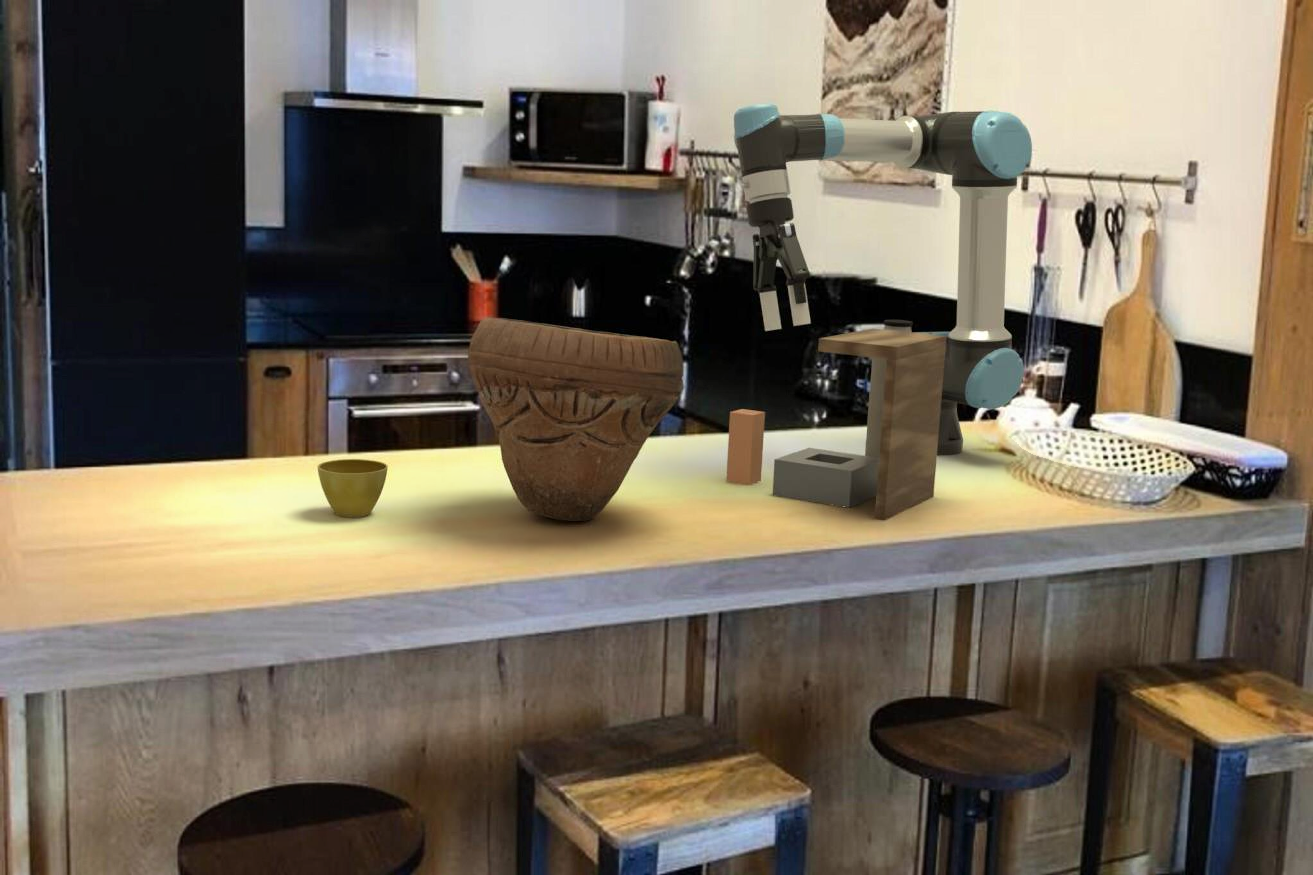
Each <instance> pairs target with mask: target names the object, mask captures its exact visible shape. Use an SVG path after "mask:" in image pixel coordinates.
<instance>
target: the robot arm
mask: <svg viewBox="0 0 1313 875" xmlns="http://www.w3.org/2000/svg"><path fill="white" fill-rule="evenodd" d="M733 127H734V133H733V134H734V135H733V137H734V146H735V148H736V150H737V154H738V162H739V167H740V168H739V169H740V174H741V180H742V182H741V183H740V188H741V189H743V192H744V199H745V201H746V202H749V203H748V204H747V205H746V207H745V208H746V214H747V221H748V225H749V226H750V227H751V228H759V233H754V234H752V242H753V243H752V244H753V245H752V247H753V267H752V268H753V271H752V272H753V281H752V284H753V285H752V286H753V290H754V291H757V293H758V294H759V298H760V305H761V306H760V307H761V311H762V312H761V314H762V318H763V320H762V321H763V325H764V331H765V332H768V331H775V330H782V324H781V315H780V310H779V303H778V296H777V291H778V289H777V287H776V285H775V277H776V270H777V263H778V262H777V261H779V263H780V264H779V265H780V266H781V267H782V270H783V272H784V275H785V277H786V282H785V286H787V289H788V290H787V291H788V297H789V304H790V310H791V318H792V324H793V327H796V326H803V325H810V324H811V323H812V322H811V321H812V320H811V316H810V309H809V302H808V294H807V288H806V282H807V279H808V278H810V276H811V274H810V271H809V268H808V265H807V262H806V260H805V256H804V253H803V250H802V248H801V245H800V242H799V238H798V236H797V231H796V225H795V223H794V222H791V221H792V220H794V218H795V215H794V210H793V202H792V199H791V198H790V197H789V195H790V194H791V187H790V179H789V172H788V169H787V163H789V162H805V161H806V162H808V161H833V162H834V161H835V162H840V161H841V162H862V163H863V162H864V163H865V162H869V163H893V164H894V165H895V166H896V167H898V168H900V169H914V170H918V171H919V170H921V171H925V172H932V173H937V174H941V175H947V176H948V175H949V176H951V188H952V190H954V191H955V192H956V193H957V195H958V196H959V220H958V221H959V223H958V228H959V229H958V262H957V263H958V264H957V294H956V295H957V296H956V297H957V300H956V301H957V302H956V325H955V327H954V328H953V329H952V330H951V331H927V332H926V331H922V332H921V331H920V332H918V331H917V332H912V333H922V334H932V335H942V336H947V337H946V349H945V362H944V374H943V386H942V398H941V410H940V423H939V435H938V447H937V455H953V454H954V455H955V454H958V453H961V452H962V451H963V446H964V445H963V444H964V437H963V433H962V430H961V426H960V420H959V417H958V410H957V408H958V404H962V405H963V404H964V405H967V406H969V407H972V408H976V409H987V410H995V409H999V408H1002V407H1004V406H1005V405H1007V404H1009V403H1010V402H1011V401H1012V399H1013V397H1014V396H1016V395H1017V393H1018V392H1019V390H1020V388H1021V386H1022V383H1023V379H1024V375H1025V374H1024V373H1025V366H1024V362H1023V359H1022V358H1021V357H1020V354H1019V353H1018V352H1016V351H1015V350H1014V349H1012V345H1013V344H1012V339H1013V338H1012V334H1011V332H1009V331H1008V330H1007V329H1006V328H1005V326H1004V325H1005V298H1006V296H1005V295H1006V270H1007V269H1006V267H1007V265H1006V263H1007V238H1008V237H1007V236H1008V211H1009V207H1008V206H1009V204H1008V203H1009V196H1010V195H1011V193H1012V192H1014V190H1015V189H1017V188H1018V177H1019V176H1020V175H1022V174H1023V173H1024V172H1025V170H1026V169H1027V166H1029V164H1030V162H1031V159H1032V153H1033V142H1032V138H1031V137H1032V136H1031V135H1030V133H1029V129H1028V128H1027V126H1026V125H1025V124H1024V123H1023V122H1022V120H1021V118H1019V117H1018V116H1016V115H1015V114H1012V113H1010V112H1007V111H1006V112H1005V111H998V110H986V111H983V110H982V111H980V110H979V111H977V110H976V111H948V112H940V113H939V112H938V113H933V114H924V115H923V114H922V115H903V116H900V117H898V118H897V119H896V120H888V119H887V120H884V119H882V120H881V119H862V118H861V119H860V118H841V117H840V118H839V117H838V116H836V115H835V114H832V113H831V114H829V113H816V114H784V115H782V114H780V113H779V109H778V106H777V104H775V103H769V102H767V103H765V102H764V103H757V104H750V105H747V106H744V107H742V108H739V109H737V110H736V111H735V113H734V115H733ZM788 222H791V223H788Z"/></svg>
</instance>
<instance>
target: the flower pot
mask: <svg viewBox="0 0 1313 875" xmlns="http://www.w3.org/2000/svg"><path fill="white" fill-rule="evenodd" d="M388 467H389V466H388V464H387V463H384V462H383V461H377V460H373V459H372V460H371V459H364V458H363V459H362V458H347V459H346V458H345V459H344V458H343V459H342V458H341V459H333V460H328V461H324V462H321V463H319V464H318V465H317V472H318V473H317V474H318V478H319V482H320V485H321V488H322V491H323V494H324V496H325V498H326V500H327V503H328V505H329V506H330V508H331V509H332V511H333V512H334V513H335V515H337V516H339V517H343V518H361V517H367V516H368V515H370V514H371V512H372V511H373V510H374V509H375V506H376V505H377V503H378V502H379V499H380V497H381V494H382V491H383V489H384V486H385V483H386V479H387V474H388Z"/></svg>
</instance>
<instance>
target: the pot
mask: <svg viewBox="0 0 1313 875" xmlns="http://www.w3.org/2000/svg"><path fill="white" fill-rule="evenodd" d="M474 331H475V332H474V333H473V335H472V336H471V339H470V341H469V347H468V348H469V349H468V354H467V358H468V359H467V360H468V363H469V367H468V368H469V371H470V376H471V377H472V380H473V382H474V385H475V387H476V390H477V392H478V397H479V399H480V401H481V404H482V405H483V407H484V409H485V411H486V413H487V415H488V416H489V418H490V420H491V422H492V424H493V427H494V429H495V431H496V432H497V433H499V434H498V441H499V443H498V444H499V447H500V453H501V462H502V464H503V467H504V470H505V473H506V475H507V477H508V480H509V483H510V485H511V487H512V490H513V492H514V494H515V495H516V497H517V499H518V500H519V502H520V503H521V504H522V506H523V507H524V509H526V510H527V512H530V513H533V514H536V515H539V516H544V517H547V518H551V519H555V520H559V521H560V520H561V521H568V522H586V521H590V520H593V519H594V518H595V517H596V516H597V515H599V514H600V513H601V512H602V511H603V510H604V509H605V508H606V506H607V505H608V504H609V503H610V501H611V500H612V499H613V497H614V496H615V494H616V493H617V492H618V491H619V489H620V487H621V486H622V484H623V481H624V480H625V478H626V477H627V475H628V474H629V471H630V469H631V467H632V465H633V464H634V461H635V460H636V459H637V457H638V455H639V454H640V452H641V450H642V448H643V446H644V445H645V443H646V441H647V440H648V438H649V436H650V435H651V433H652V432H653V431H654V429H655V428H656V427H657V425H658V424H659V422H660V421H661V420H663V419H664V417H665V416H666V415H667V413H668V412H669V411H670V410H671V409H672V408H673V406H674V405H675V403H676V402H677V401H678V399H679V398H680V393H681V392H682V388H683V384H684V380H683V379H682V377H683V376H684V375H685V373H684V362H683V361H684V360H683V353H682V351H681V349H680V346H679V343H678V342H677V341H676V340H674V341H671V340H668V339H660V338H656V337H655V338H654V337H647V336H638V335H630V334H623V333H622V334H620V333H615V332H614V333H613V332H607V331H597V330H590V329H583V328H577V327H576V328H575V327H569V326H562V325H555V324H549V323H541V322H534V321H533V322H532V321H529V320H520V319H519V320H518V319H511V318H504V317H487V316H485V317H484V318H483V319H481V320H480V322H479V323H478V325H477V327H476V329H475V330H474Z"/></svg>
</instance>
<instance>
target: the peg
mask: <svg viewBox="0 0 1313 875" xmlns="http://www.w3.org/2000/svg"><path fill="white" fill-rule="evenodd" d="M765 418H766V412H765V411H760V410H754V409H753V410H751V409H744V408H741V409H737V410H733V411H730V412H729V423H728V424H729V426H728V427H729V428H728V441H727V444H728V445H727V460H726V478H725V479H726V481H728V482H727V483H733V484H734V483H735V484H739V483H741V484H740V485H744V486H745V485H746V486H752V485H754V484H757V483H759V482H758V481H760V482H762V471H763V470H762V469H763V468H762V467H763V453H764V452H763V451H764V438H765V436H764V435H765V434H764V433H765ZM756 482H757V483H756ZM753 483H754V484H753Z"/></svg>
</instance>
